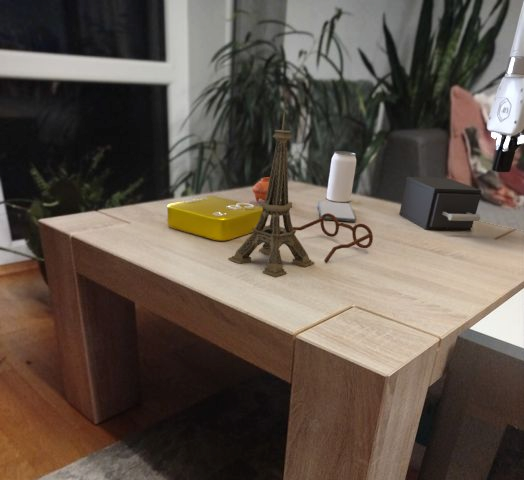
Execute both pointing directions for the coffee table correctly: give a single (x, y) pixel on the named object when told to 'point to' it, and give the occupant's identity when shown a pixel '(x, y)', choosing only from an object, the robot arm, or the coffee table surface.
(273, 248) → the eiffel tower
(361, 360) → the coffee table surface
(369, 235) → the glasses
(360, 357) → the coffee table surface
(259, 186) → the orange cupcake
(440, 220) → the drawer
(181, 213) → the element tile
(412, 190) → the cabinet
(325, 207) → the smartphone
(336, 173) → the can
